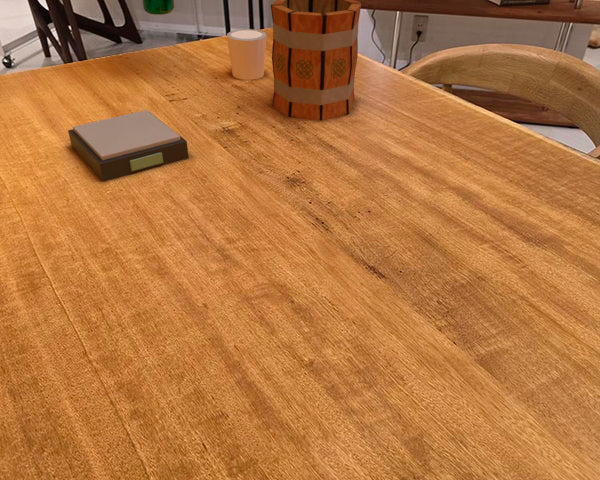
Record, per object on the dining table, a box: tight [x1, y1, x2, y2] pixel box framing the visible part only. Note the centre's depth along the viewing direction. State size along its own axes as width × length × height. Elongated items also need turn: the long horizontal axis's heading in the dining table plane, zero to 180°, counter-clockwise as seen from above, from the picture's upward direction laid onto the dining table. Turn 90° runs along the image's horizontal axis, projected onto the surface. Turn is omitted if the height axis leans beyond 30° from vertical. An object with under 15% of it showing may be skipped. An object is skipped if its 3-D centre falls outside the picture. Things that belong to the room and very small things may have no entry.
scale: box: [67, 109, 189, 182], centre depth 80 cm, size 12×12×3 cm
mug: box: [270, 0, 362, 122], centre depth 93 cm, size 20×14×15 cm
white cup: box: [226, 28, 267, 81], centre depth 104 cm, size 7×7×7 cm
